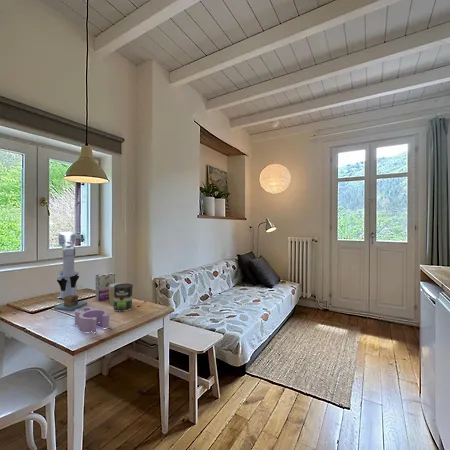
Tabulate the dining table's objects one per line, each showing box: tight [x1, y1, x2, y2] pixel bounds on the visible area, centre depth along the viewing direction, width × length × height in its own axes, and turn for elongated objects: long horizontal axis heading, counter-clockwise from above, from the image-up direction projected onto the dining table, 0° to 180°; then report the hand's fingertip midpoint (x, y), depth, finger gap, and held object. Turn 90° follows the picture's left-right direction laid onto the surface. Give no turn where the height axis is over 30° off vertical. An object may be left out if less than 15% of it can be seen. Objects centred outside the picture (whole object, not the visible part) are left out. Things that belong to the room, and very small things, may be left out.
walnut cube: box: [63, 294, 79, 306], centre depth 152 cm, size 5×5×5 cm
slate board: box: [53, 301, 88, 312], centre depth 152 cm, size 12×12×1 cm
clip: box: [74, 306, 110, 333], centre depth 127 cm, size 20×12×7 cm, turn 56°
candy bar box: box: [95, 272, 116, 302], centre depth 169 cm, size 11×5×16 cm, turn 143°
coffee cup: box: [108, 282, 124, 307], centre depth 160 cm, size 9×9×12 cm
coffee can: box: [113, 282, 134, 313], centre depth 151 cm, size 10×10×14 cm
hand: (68, 289), depth 156 cm, fingers open, 7 cm apart
